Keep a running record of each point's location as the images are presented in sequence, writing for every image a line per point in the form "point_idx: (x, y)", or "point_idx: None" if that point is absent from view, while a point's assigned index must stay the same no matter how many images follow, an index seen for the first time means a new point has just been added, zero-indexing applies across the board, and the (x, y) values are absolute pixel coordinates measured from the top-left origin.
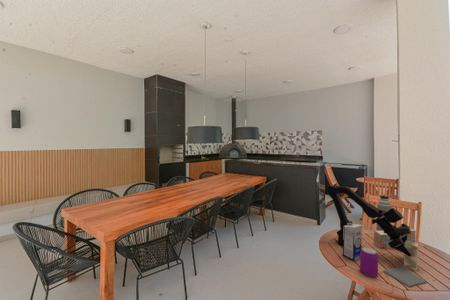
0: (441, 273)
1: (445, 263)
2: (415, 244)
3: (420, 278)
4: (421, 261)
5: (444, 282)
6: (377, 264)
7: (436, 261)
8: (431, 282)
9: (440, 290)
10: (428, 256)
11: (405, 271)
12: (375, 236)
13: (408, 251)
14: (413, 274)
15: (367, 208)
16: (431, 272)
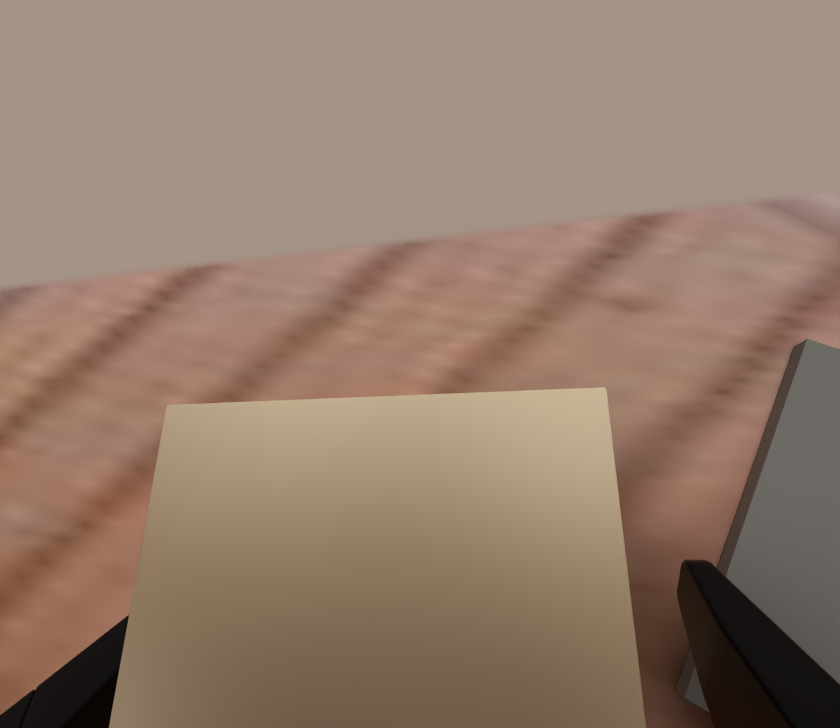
0: (373, 272)
1: (103, 276)
2: (366, 481)
3: (809, 406)
4: None
5: (577, 228)
6: None
7: (105, 339)
8: (720, 313)
9: (836, 227)
10: (21, 412)
11: (790, 603)
12: None
13: (776, 672)
14: (777, 493)
15: None
16: (433, 343)
